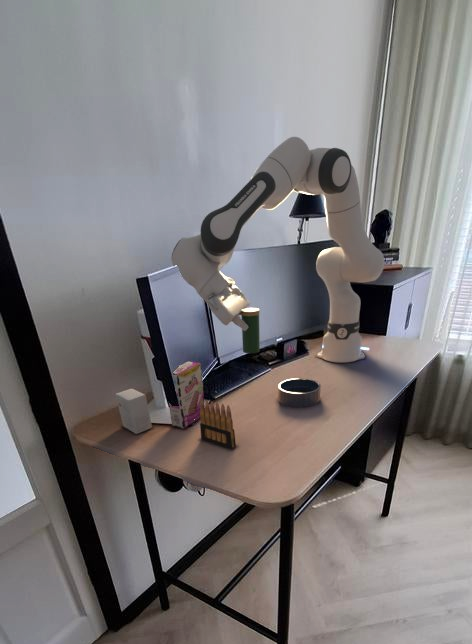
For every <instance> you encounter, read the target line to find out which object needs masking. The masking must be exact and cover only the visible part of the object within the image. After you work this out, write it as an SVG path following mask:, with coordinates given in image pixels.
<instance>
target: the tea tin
mask: <svg viewBox="0 0 472 644" xmlns="http://www.w3.org/2000/svg"><path fill="white" fill-rule="evenodd" d="M241 315H242V316H241ZM241 315H240V316H241V319H242V320H243V321H244V322H246V323H247V324H248V325H249V328H248V329H247V330H246V331H244V330H243V329H242V328H241V336H242V338H241V339H242V352H243V353H245V354H256V353H259V352H260V351H261V346H260V345H261V344H260V338H261V337H260V308H257V307H247V308H246V309H243V310H241Z"/></svg>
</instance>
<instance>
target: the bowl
mask: <svg viewBox="0 0 472 644" xmlns="http://www.w3.org/2000/svg"><path fill="white" fill-rule="evenodd" d="M277 389H278V390H277V392H278V393H277V401H278V402H279V403H280V405H282V406H286V407H289V408H297V409H300V408H302V409H303V408H309V407H312V406H315V405H317V404H319V403H320V400H321V389H322V384H321V383H320V382H319V381H317V380H314V379H312V378H311V379H310V378H301V377H300V378H299V377H298V378H297V377H296V378H289V379H285V380H283V381H281V382H280V383H278V386H277Z"/></svg>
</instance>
